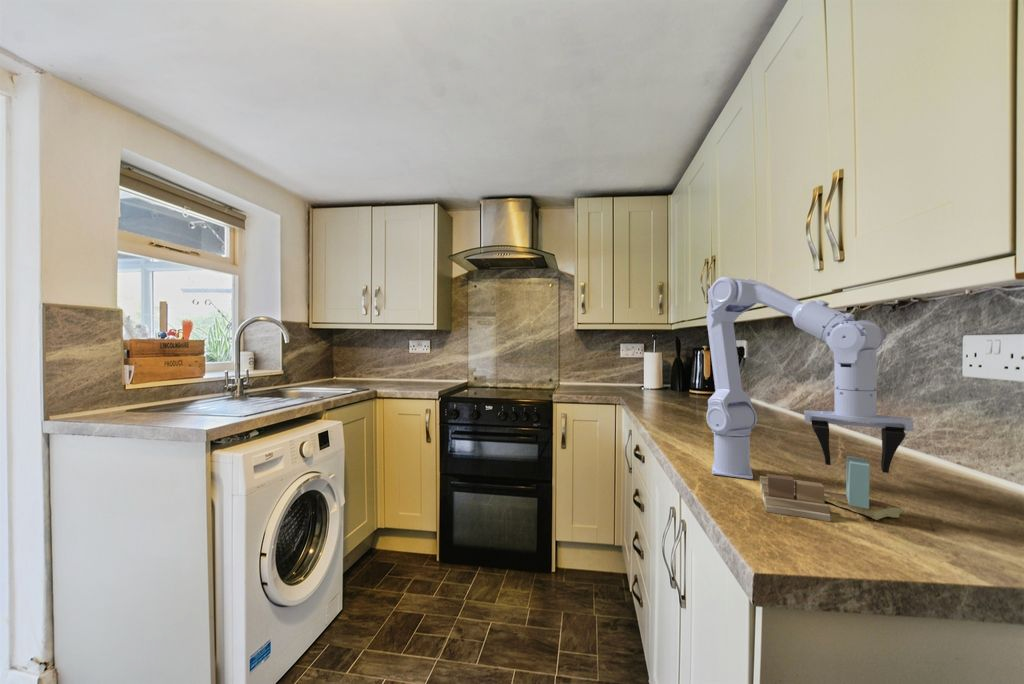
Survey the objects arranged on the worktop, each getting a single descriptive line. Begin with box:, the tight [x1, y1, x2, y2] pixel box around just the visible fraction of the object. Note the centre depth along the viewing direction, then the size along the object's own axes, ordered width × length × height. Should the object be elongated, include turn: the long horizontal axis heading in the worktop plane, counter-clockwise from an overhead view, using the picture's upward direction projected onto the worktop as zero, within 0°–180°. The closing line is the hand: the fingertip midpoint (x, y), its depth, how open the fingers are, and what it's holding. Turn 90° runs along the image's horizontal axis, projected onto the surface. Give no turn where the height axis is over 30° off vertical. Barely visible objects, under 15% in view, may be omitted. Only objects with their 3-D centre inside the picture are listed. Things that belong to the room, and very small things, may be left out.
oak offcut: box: [794, 479, 825, 504], centre depth 71 cm, size 2×4×4 cm, turn 63°
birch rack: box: [759, 475, 831, 523], centre depth 76 cm, size 15×9×2 cm, turn 153°
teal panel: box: [845, 455, 871, 509], centre depth 71 cm, size 2×7×7 cm, turn 144°
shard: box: [824, 491, 903, 521], centre depth 74 cm, size 11×8×2 cm
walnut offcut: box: [766, 473, 795, 500], centre depth 73 cm, size 2×4×4 cm, turn 63°
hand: (855, 467), depth 72 cm, fingers open, 7 cm apart
